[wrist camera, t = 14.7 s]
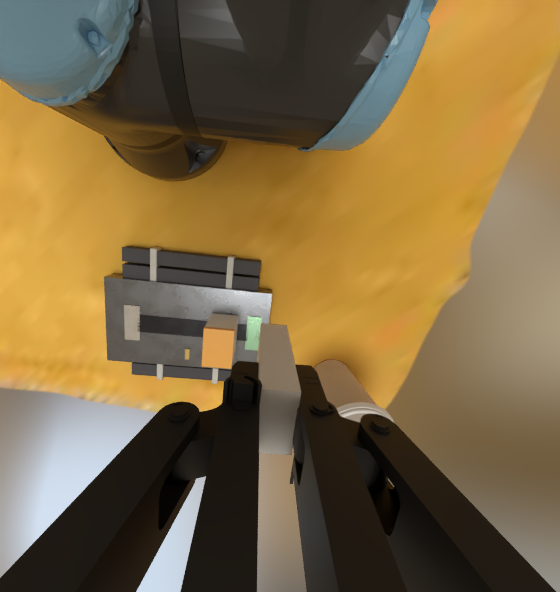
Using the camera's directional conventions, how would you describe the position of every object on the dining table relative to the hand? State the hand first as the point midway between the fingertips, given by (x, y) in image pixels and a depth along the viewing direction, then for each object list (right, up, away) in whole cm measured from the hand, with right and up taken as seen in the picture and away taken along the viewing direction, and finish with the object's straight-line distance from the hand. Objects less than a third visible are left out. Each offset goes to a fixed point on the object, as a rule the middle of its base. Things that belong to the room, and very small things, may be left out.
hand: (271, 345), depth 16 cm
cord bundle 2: (-13, -8, +27) cm, 31 cm away
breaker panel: (-12, -1, +25) cm, 28 cm away
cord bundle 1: (-11, +7, +23) cm, 26 cm away
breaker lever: (-7, -2, +23) cm, 24 cm away
